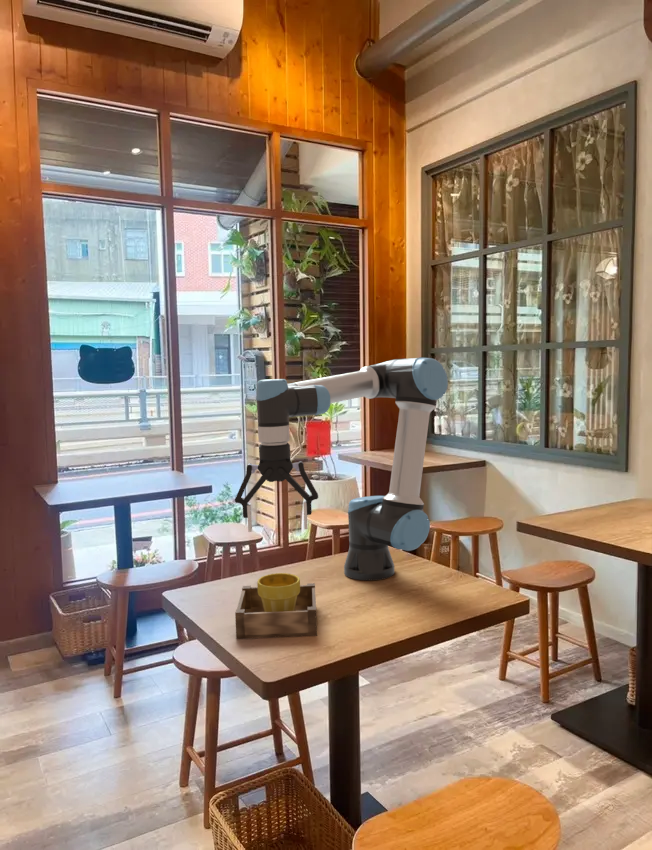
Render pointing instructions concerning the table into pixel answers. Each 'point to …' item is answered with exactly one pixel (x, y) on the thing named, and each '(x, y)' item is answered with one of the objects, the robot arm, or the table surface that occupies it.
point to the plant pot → (278, 591)
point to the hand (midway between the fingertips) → (278, 529)
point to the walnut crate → (276, 616)
